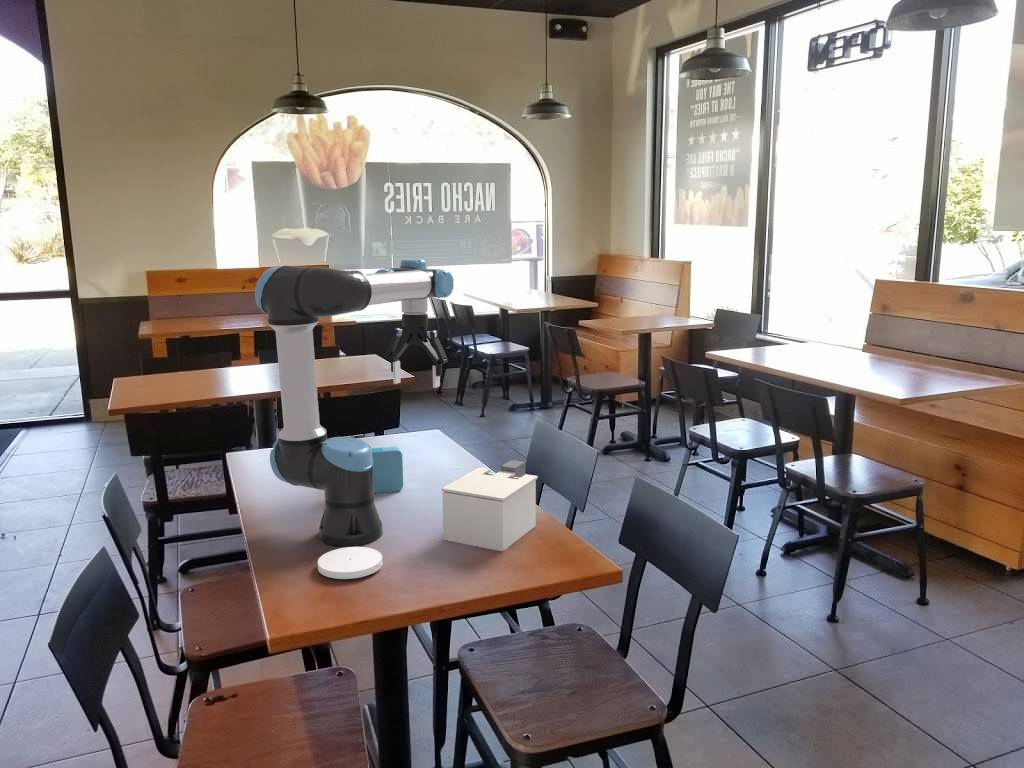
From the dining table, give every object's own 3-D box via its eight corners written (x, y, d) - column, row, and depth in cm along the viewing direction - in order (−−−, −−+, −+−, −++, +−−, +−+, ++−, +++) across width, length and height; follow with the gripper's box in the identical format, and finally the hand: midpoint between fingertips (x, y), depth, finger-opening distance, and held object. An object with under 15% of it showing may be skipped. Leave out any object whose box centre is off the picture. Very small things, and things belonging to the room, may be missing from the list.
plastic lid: (393, 573, 180) (392, 562, 180) (331, 589, 173) (330, 577, 173) (368, 552, 192) (367, 542, 192) (309, 565, 185) (308, 555, 184)
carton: (502, 551, 191) (502, 502, 189) (443, 539, 198) (442, 492, 196) (535, 525, 207) (535, 480, 205) (479, 516, 214) (478, 471, 212)
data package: (401, 486, 238) (399, 445, 236) (403, 490, 234) (402, 449, 232) (359, 490, 235) (357, 449, 233) (360, 494, 231) (359, 453, 229)
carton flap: (503, 506, 189) (503, 493, 188) (441, 495, 196) (441, 483, 196) (547, 476, 211) (547, 464, 210) (490, 467, 218) (489, 456, 217)
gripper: (458, 313, 237) (459, 386, 242) (386, 309, 248) (388, 379, 252) (445, 316, 231) (446, 390, 235) (371, 312, 241) (373, 383, 246)
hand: (416, 385), depth 244 cm, fingers open, 13 cm apart
